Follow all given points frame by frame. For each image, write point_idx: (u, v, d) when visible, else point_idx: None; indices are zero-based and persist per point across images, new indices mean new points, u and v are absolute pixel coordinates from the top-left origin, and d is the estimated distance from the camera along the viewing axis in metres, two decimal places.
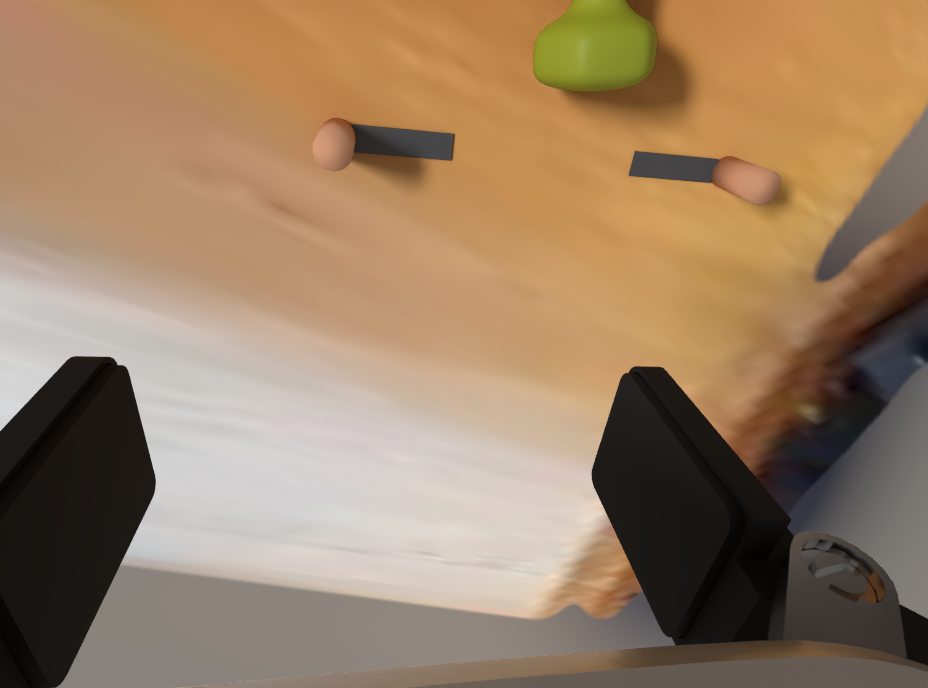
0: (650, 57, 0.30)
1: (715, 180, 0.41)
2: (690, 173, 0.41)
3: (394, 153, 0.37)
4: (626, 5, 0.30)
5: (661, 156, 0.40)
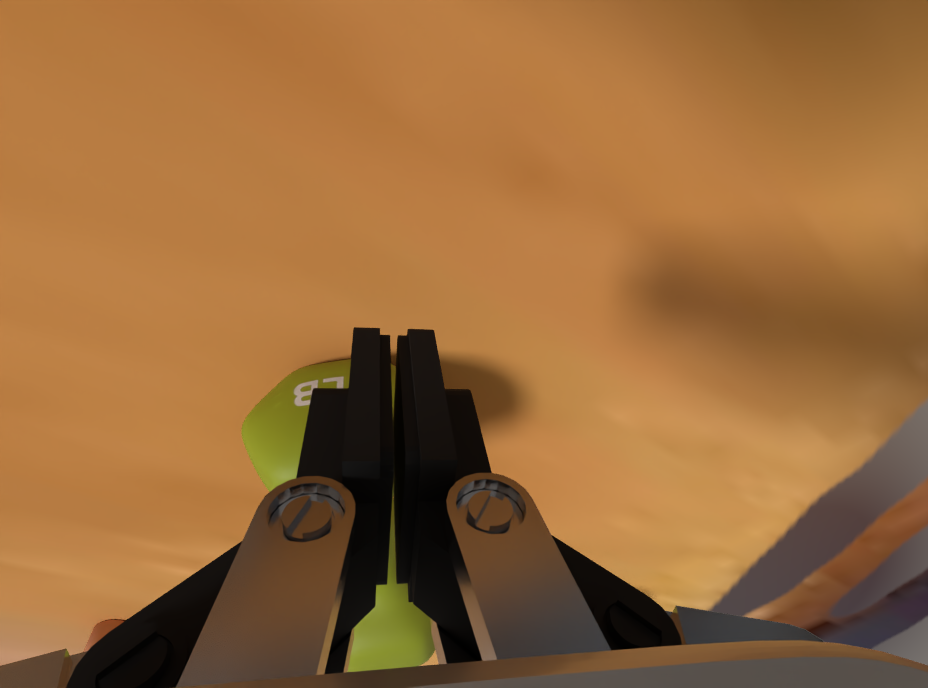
0: (431, 647, 0.27)
1: None
2: None
3: None
4: (402, 589, 0.26)
5: None
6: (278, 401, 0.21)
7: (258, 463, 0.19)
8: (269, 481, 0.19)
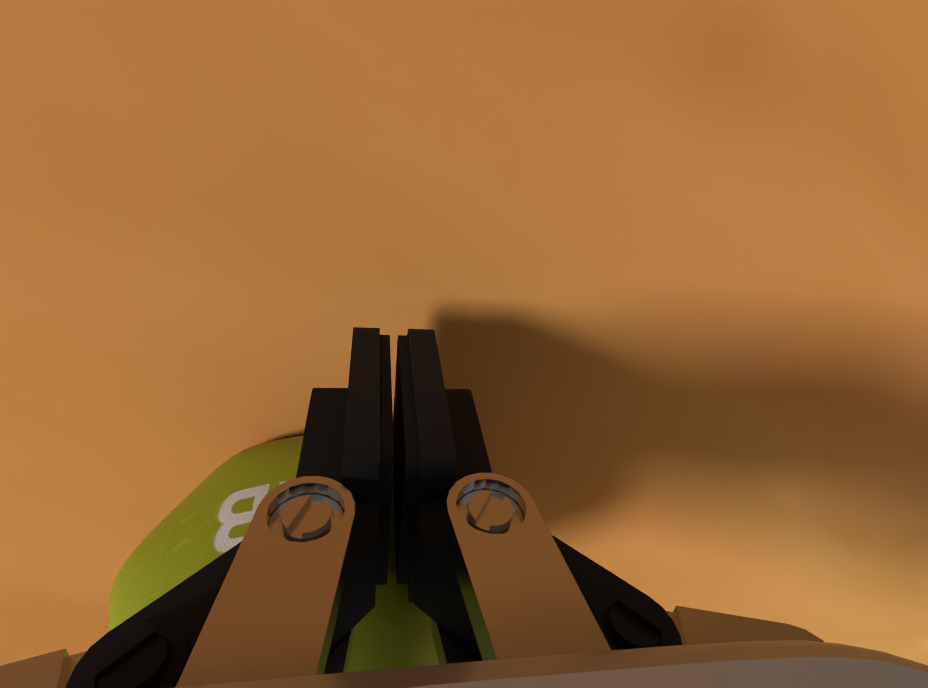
0: None
1: None
2: None
3: None
4: None
5: None
6: (184, 535, 0.10)
7: None
8: None
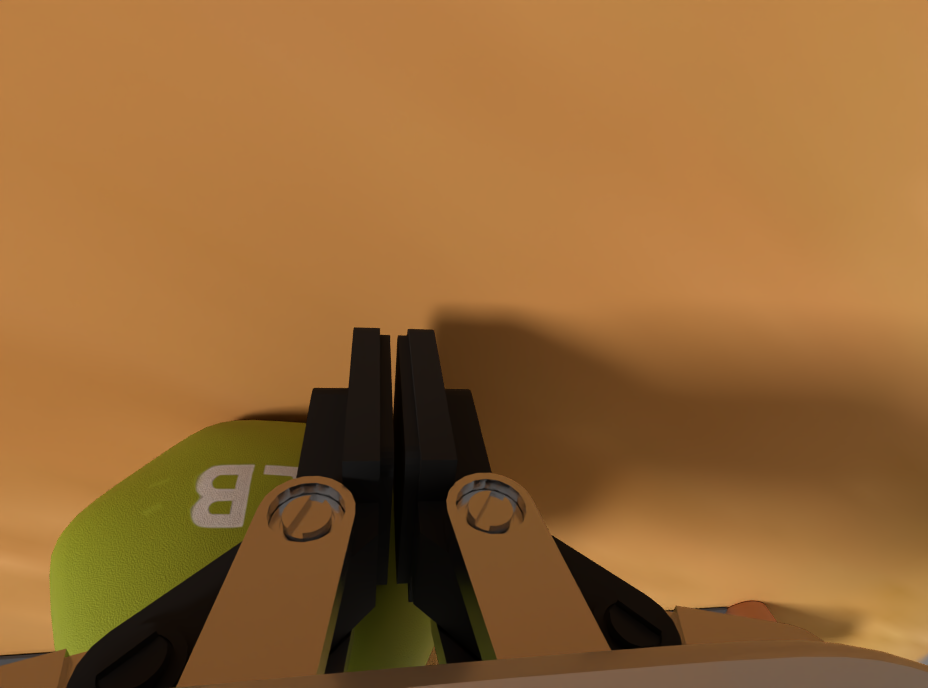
0: None
1: None
2: None
3: None
4: None
5: None
6: (157, 500, 0.10)
7: None
8: None
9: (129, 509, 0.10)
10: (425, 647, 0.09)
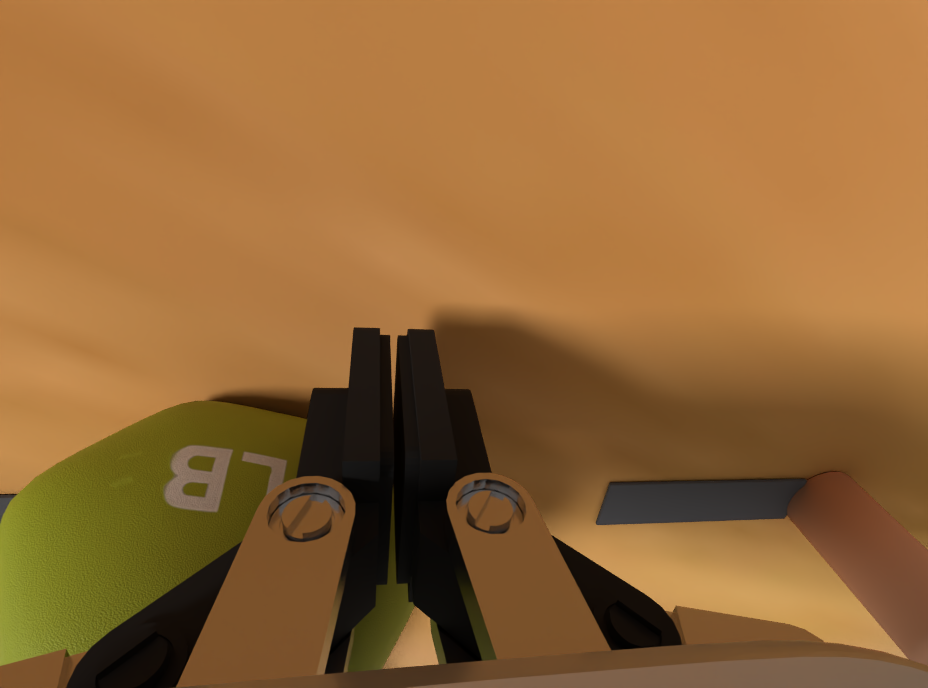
0: None
1: (798, 526, 0.18)
2: (740, 506, 0.18)
3: None
4: None
5: (674, 486, 0.17)
6: (128, 473, 0.09)
7: (3, 634, 0.07)
8: None
9: (97, 478, 0.09)
10: (386, 656, 0.09)
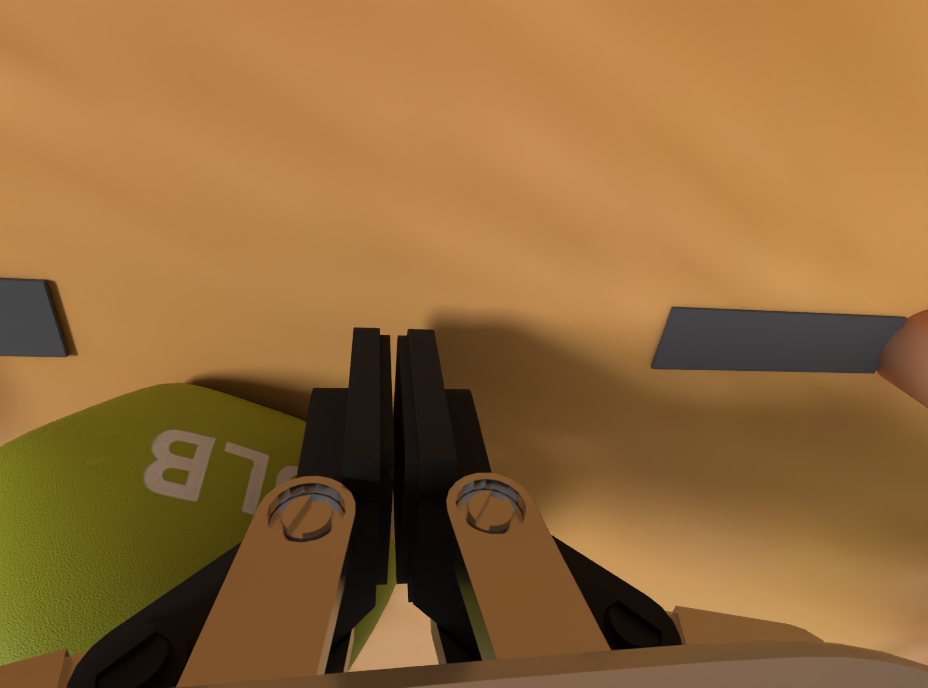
0: None
1: (894, 375, 0.14)
2: (823, 353, 0.15)
3: None
4: None
5: (749, 317, 0.14)
6: (105, 451, 0.09)
7: None
8: None
9: (72, 453, 0.09)
10: (350, 665, 0.09)
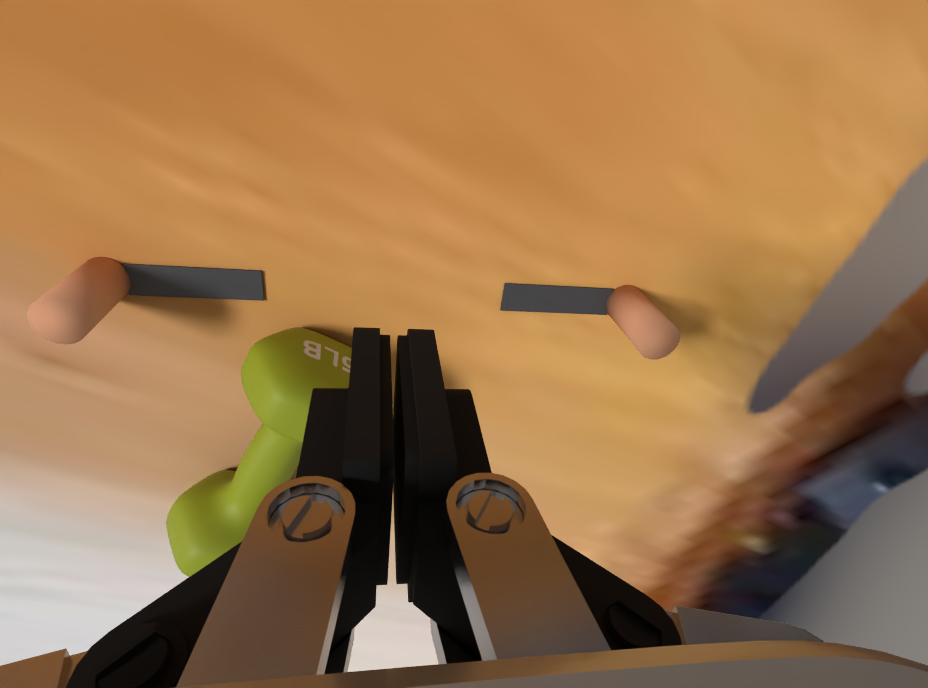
0: None
1: (610, 314, 0.33)
2: (579, 305, 0.33)
3: (186, 295, 0.29)
4: None
5: (540, 288, 0.32)
6: (291, 343, 0.28)
7: (264, 377, 0.26)
8: (268, 393, 0.26)
9: (282, 343, 0.28)
10: None
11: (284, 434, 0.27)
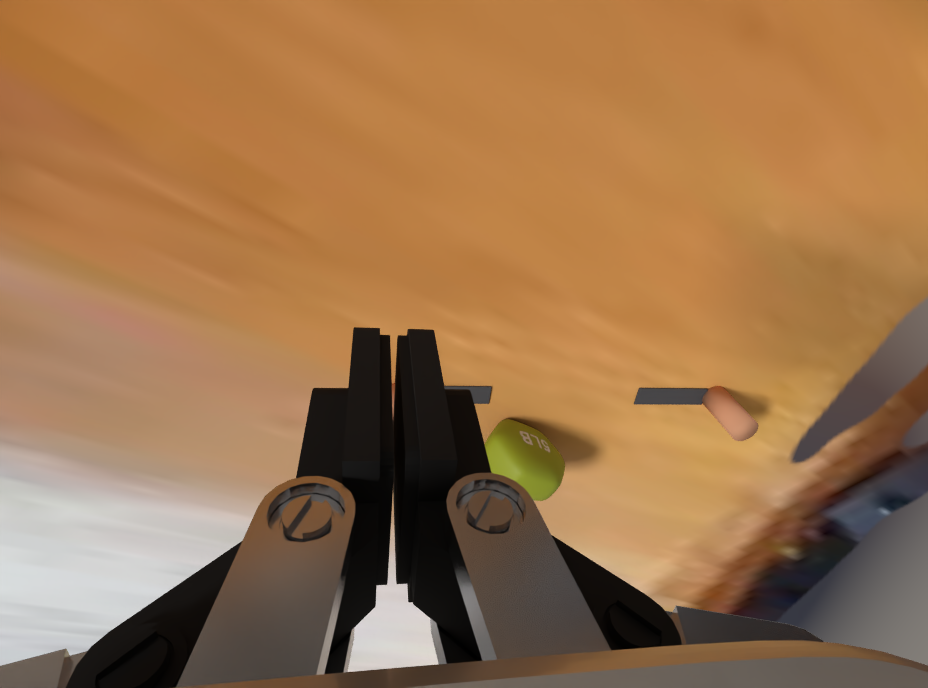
0: None
1: (705, 405, 0.49)
2: (685, 399, 0.50)
3: None
4: None
5: (661, 390, 0.48)
6: (514, 435, 0.44)
7: (508, 460, 0.43)
8: (513, 470, 0.42)
9: (510, 435, 0.44)
10: (561, 479, 0.45)
11: None
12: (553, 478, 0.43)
